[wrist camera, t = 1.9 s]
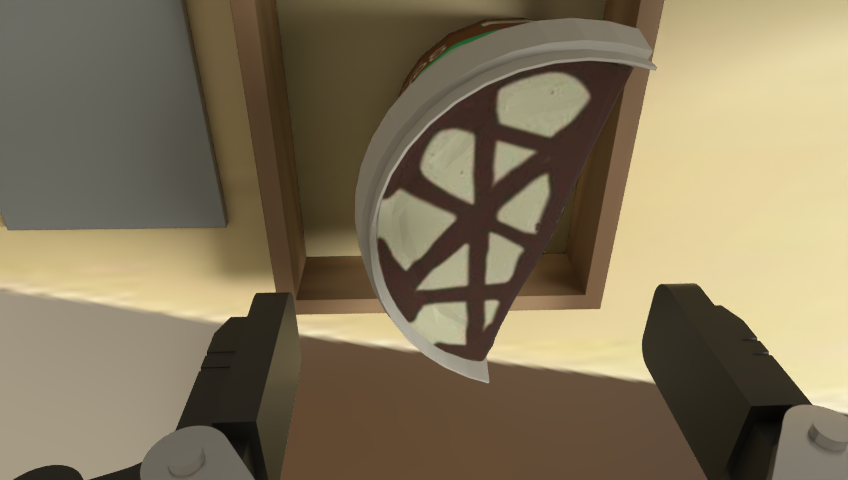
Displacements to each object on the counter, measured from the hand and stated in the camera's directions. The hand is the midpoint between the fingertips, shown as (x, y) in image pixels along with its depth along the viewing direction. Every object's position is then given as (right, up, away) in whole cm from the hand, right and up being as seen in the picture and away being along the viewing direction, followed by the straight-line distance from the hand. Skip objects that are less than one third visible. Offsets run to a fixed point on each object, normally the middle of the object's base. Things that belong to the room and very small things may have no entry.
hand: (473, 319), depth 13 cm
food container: (0, +8, +12) cm, 14 cm away
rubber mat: (-15, +8, +11) cm, 21 cm away
